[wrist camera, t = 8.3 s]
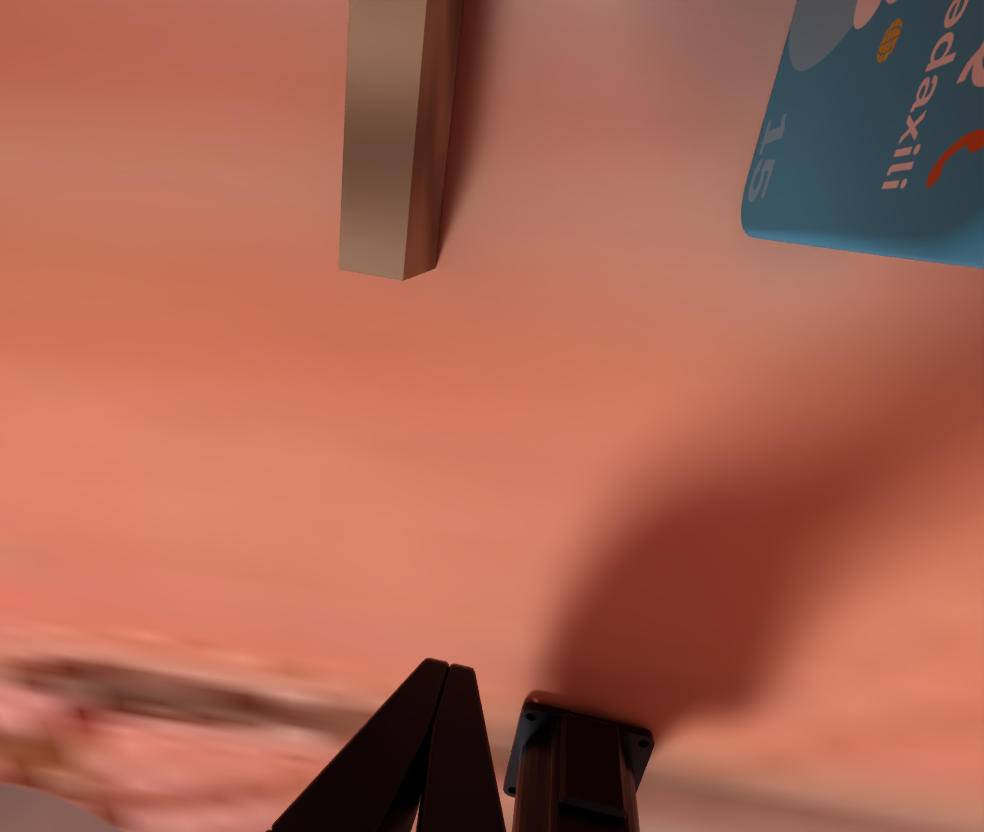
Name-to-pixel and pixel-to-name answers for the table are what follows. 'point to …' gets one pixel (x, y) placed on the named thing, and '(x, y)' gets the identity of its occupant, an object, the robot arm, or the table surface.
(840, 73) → the data package
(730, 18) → the table surface
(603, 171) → the table surface
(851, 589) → the table surface
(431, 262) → the brown angled bar
